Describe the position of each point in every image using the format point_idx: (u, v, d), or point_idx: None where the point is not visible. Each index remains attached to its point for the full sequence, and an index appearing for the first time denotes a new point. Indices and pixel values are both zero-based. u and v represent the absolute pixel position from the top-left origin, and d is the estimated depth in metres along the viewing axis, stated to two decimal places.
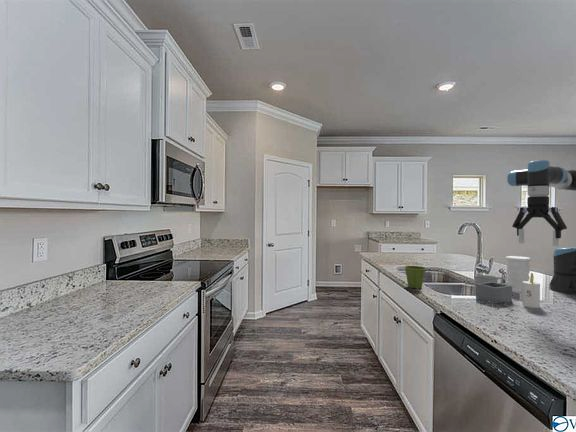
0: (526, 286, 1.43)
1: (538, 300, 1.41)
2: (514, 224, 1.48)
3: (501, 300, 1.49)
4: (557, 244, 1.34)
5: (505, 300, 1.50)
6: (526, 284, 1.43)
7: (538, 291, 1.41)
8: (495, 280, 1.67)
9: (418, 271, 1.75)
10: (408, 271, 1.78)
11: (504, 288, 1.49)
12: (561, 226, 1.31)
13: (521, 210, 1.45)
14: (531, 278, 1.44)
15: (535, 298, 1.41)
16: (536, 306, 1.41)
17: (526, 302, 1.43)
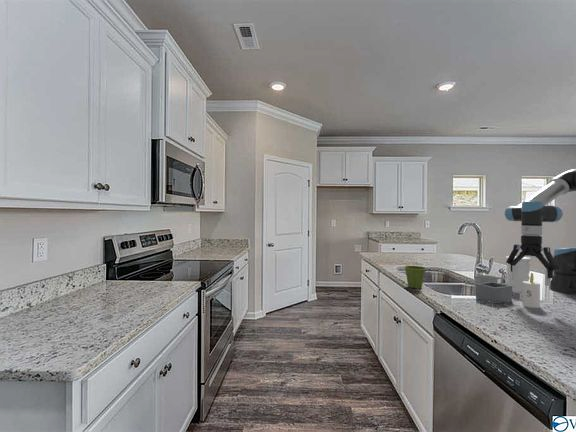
0: (526, 286, 1.43)
1: (538, 300, 1.41)
2: (508, 260, 1.52)
3: (501, 300, 1.49)
4: (549, 283, 1.38)
5: (505, 300, 1.50)
6: (526, 284, 1.43)
7: (538, 291, 1.41)
8: (495, 280, 1.67)
9: (418, 271, 1.75)
10: (408, 271, 1.78)
11: (504, 288, 1.49)
12: (553, 267, 1.35)
13: (515, 247, 1.49)
14: (531, 278, 1.44)
15: (535, 298, 1.41)
16: (536, 306, 1.41)
17: (526, 302, 1.43)
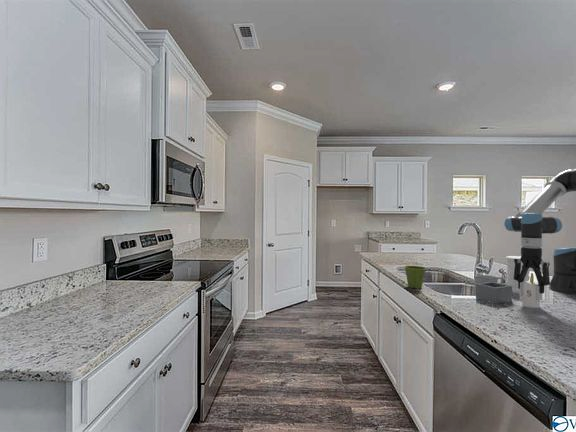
0: (526, 286, 1.43)
1: None
2: (515, 276, 1.49)
3: (501, 300, 1.49)
4: (541, 298, 1.41)
5: (505, 300, 1.50)
6: (526, 284, 1.43)
7: None
8: (495, 280, 1.67)
9: (418, 271, 1.75)
10: (408, 271, 1.78)
11: (504, 288, 1.49)
12: (545, 282, 1.38)
13: (516, 261, 1.49)
14: (531, 278, 1.44)
15: (535, 298, 1.41)
16: (536, 306, 1.41)
17: (526, 302, 1.43)
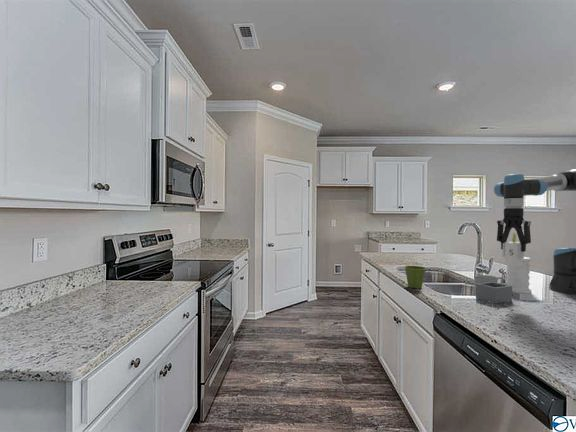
0: (508, 245, 1.47)
1: None
2: (498, 238, 1.53)
3: (501, 300, 1.49)
4: (522, 257, 1.45)
5: (505, 300, 1.50)
6: (508, 243, 1.47)
7: None
8: (495, 280, 1.67)
9: (418, 271, 1.75)
10: (408, 271, 1.78)
11: (504, 288, 1.49)
12: (526, 240, 1.42)
13: (499, 223, 1.53)
14: (513, 238, 1.48)
15: (517, 257, 1.45)
16: (518, 264, 1.45)
17: (509, 261, 1.47)
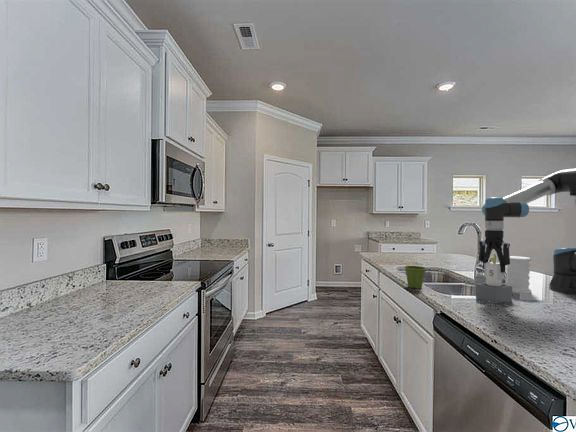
0: (489, 266, 1.53)
1: (500, 279, 1.51)
2: (480, 258, 1.59)
3: (501, 300, 1.49)
4: (502, 277, 1.50)
5: (505, 300, 1.50)
6: (489, 264, 1.53)
7: None
8: None
9: (418, 271, 1.75)
10: (408, 271, 1.78)
11: (504, 288, 1.49)
12: (505, 262, 1.47)
13: (481, 243, 1.58)
14: (494, 259, 1.54)
15: (497, 277, 1.51)
16: (498, 284, 1.51)
17: (489, 281, 1.53)
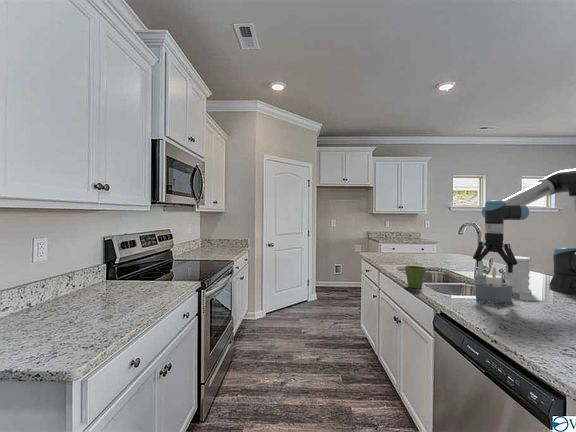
0: (489, 280, 1.53)
1: None
2: (474, 256, 1.62)
3: (501, 300, 1.49)
4: (509, 277, 1.47)
5: (505, 300, 1.50)
6: (489, 278, 1.53)
7: (499, 284, 1.51)
8: None
9: (418, 271, 1.75)
10: (408, 271, 1.78)
11: (504, 288, 1.49)
12: (512, 262, 1.45)
13: (480, 244, 1.59)
14: (493, 272, 1.54)
15: None
16: None
17: None
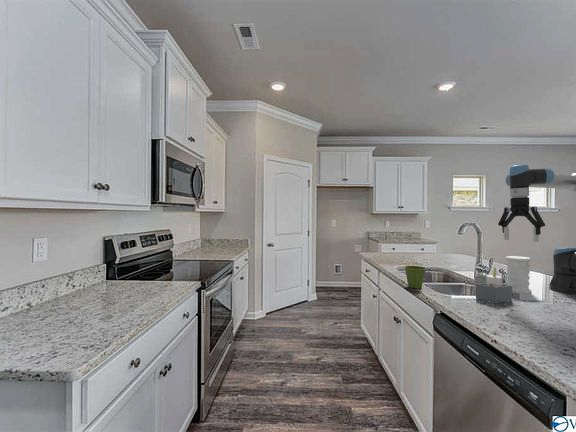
0: (489, 279, 1.53)
1: None
2: (499, 222, 1.64)
3: (501, 300, 1.49)
4: (537, 240, 1.50)
5: (505, 300, 1.50)
6: (489, 278, 1.53)
7: (500, 284, 1.51)
8: None
9: (418, 271, 1.75)
10: (408, 271, 1.78)
11: (504, 288, 1.49)
12: (540, 224, 1.47)
13: (505, 210, 1.61)
14: (494, 272, 1.54)
15: None
16: None
17: None
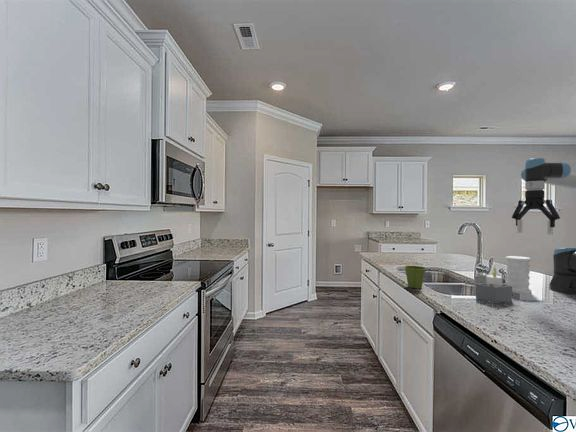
0: (489, 280, 1.53)
1: None
2: (513, 215, 1.65)
3: (501, 300, 1.49)
4: (551, 232, 1.51)
5: (505, 300, 1.50)
6: (489, 278, 1.53)
7: (500, 284, 1.51)
8: None
9: (418, 271, 1.75)
10: (408, 271, 1.78)
11: (504, 288, 1.49)
12: (555, 216, 1.48)
13: (519, 203, 1.62)
14: (494, 272, 1.54)
15: None
16: None
17: None
